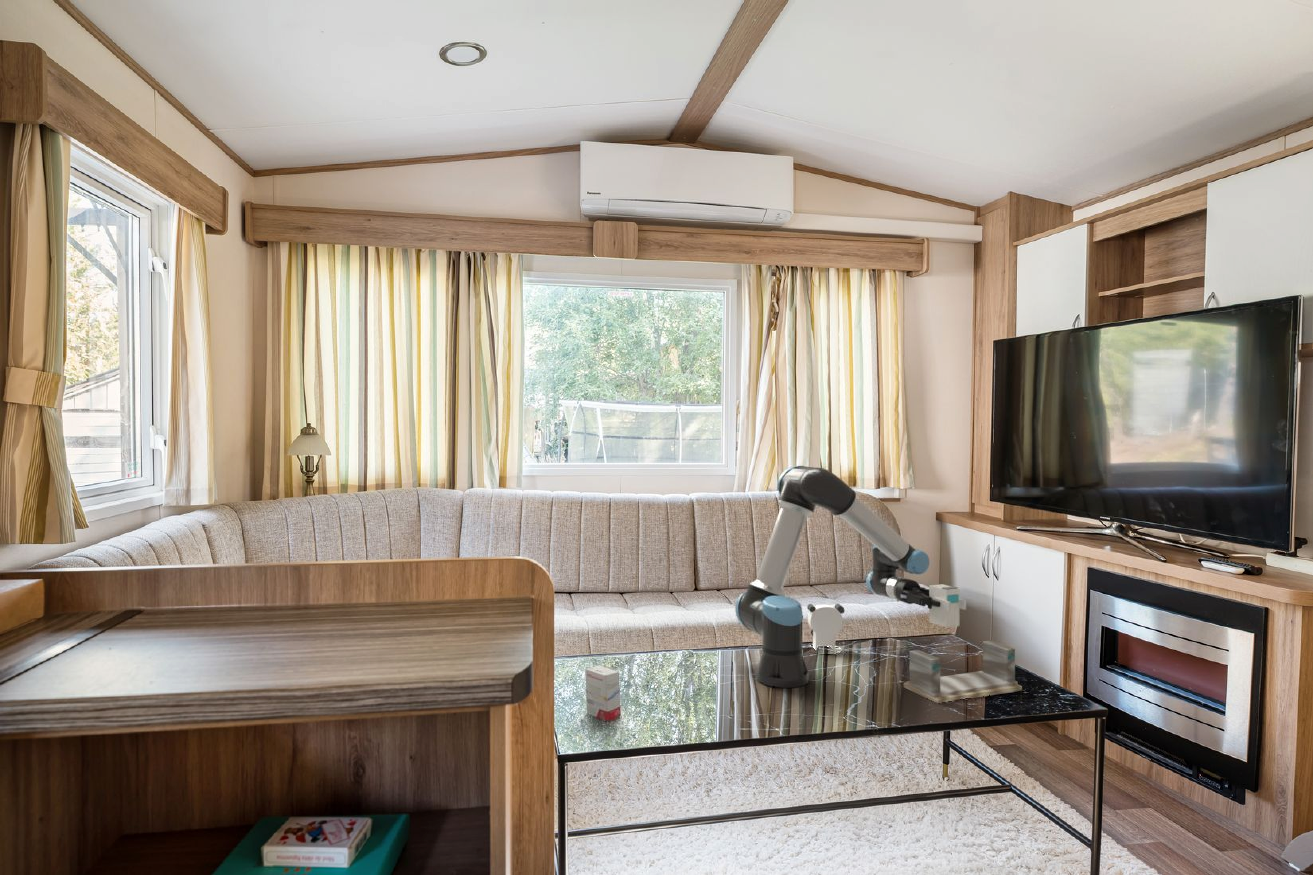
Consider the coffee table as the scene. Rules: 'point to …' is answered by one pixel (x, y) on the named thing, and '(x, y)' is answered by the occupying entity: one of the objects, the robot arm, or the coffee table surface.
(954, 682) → the board
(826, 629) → the panda figurine
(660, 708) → the coffee table surface
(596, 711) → the ink box
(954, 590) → the block
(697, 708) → the coffee table surface
